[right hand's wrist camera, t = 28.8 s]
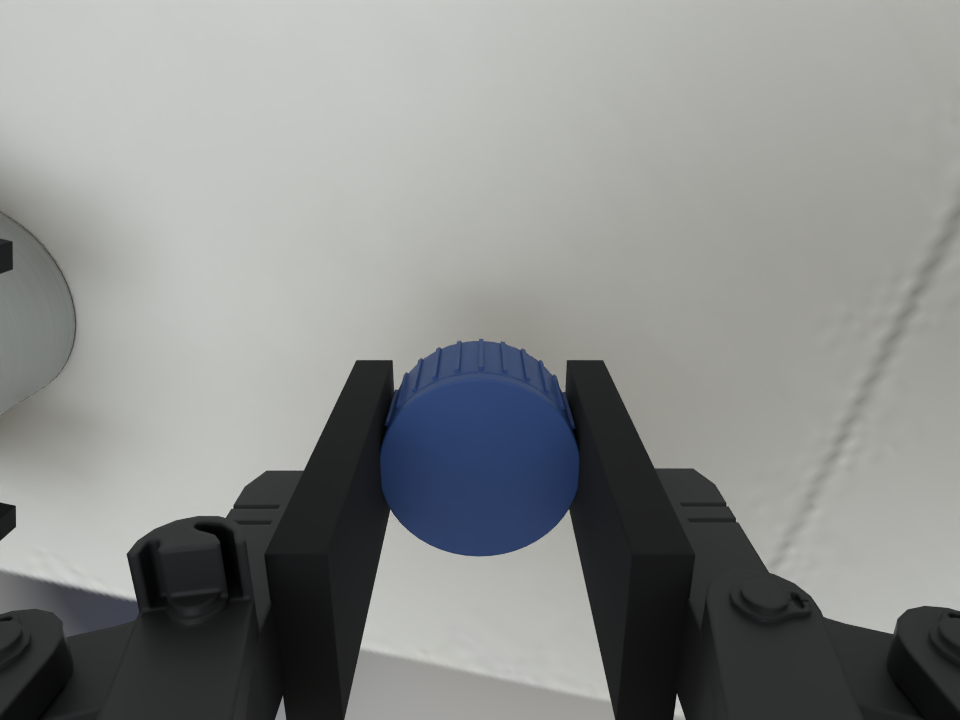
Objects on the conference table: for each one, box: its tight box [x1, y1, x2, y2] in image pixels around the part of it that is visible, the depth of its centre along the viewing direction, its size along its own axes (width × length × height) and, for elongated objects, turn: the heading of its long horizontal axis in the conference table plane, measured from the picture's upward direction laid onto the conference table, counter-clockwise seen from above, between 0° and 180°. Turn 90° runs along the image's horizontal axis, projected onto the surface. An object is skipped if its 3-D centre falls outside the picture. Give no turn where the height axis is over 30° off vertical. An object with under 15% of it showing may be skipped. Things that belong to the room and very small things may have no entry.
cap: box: [380, 339, 579, 556], centre depth 13 cm, size 4×4×2 cm
